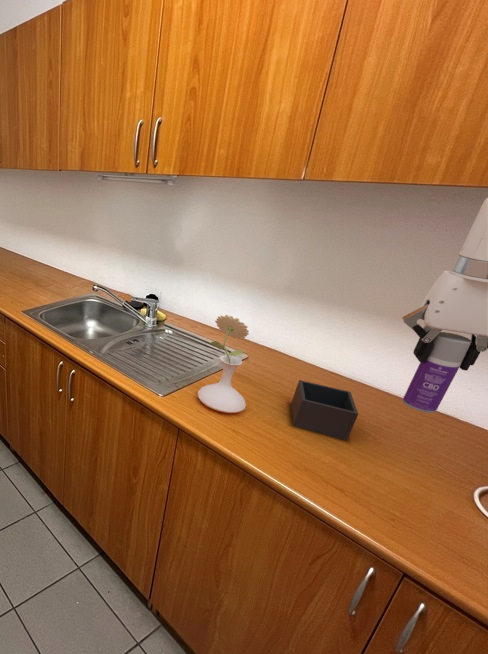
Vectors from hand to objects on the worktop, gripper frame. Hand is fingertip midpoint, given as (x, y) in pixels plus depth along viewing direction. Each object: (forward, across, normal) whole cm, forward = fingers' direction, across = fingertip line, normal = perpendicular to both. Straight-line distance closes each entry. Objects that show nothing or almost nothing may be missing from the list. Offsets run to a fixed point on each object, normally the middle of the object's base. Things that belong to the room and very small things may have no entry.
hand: (440, 362), depth 73 cm
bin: (+27, +10, -14) cm, 33 cm away
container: (+10, 0, 0) cm, 10 cm away
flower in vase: (+28, +32, -11) cm, 44 cm away
